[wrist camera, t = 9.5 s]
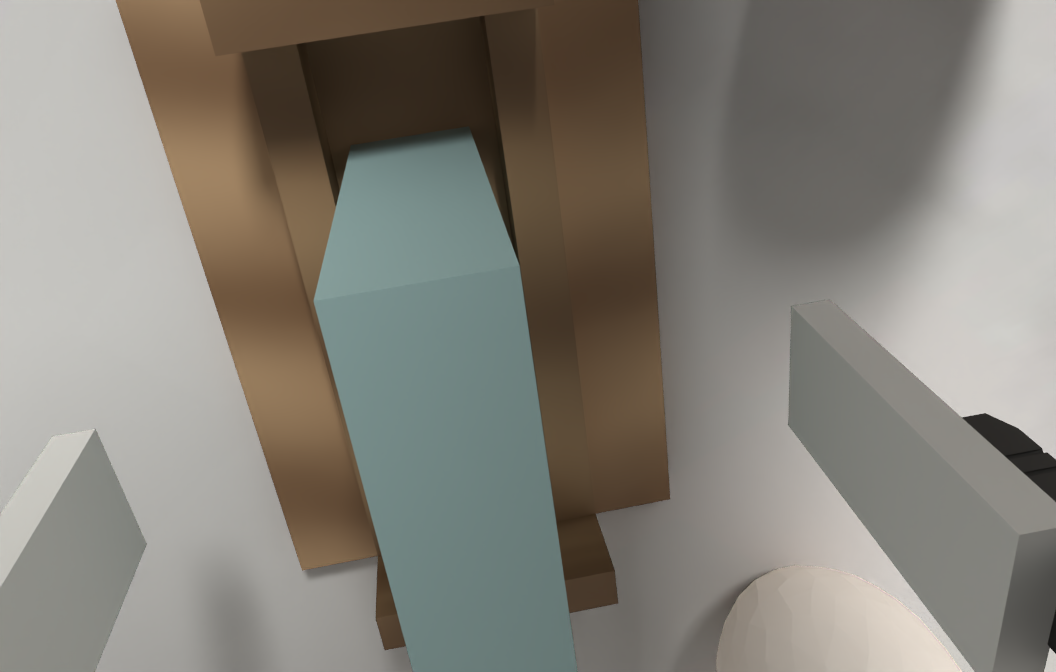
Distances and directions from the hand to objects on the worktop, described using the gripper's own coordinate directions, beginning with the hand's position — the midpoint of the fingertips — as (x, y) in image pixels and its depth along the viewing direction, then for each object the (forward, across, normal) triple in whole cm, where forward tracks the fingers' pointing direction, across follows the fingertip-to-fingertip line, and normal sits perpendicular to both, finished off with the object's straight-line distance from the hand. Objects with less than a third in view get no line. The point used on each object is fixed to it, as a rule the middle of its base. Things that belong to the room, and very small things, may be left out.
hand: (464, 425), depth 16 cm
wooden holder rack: (+9, 0, -1) cm, 9 cm away
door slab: (+8, 0, -1) cm, 8 cm away
